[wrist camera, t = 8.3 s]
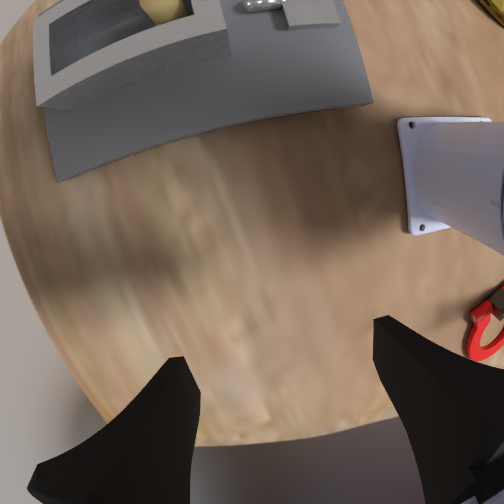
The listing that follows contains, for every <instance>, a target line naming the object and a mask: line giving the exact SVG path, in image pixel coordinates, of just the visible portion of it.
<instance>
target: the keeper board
mask: <svg viewBox="0 0 504 504" xmlns="http://www.w3.org/2000/svg"><path fill="white" fill-rule="evenodd" d="M62 1H64V0H61V1H59V2H58V3H56V4H55V5H53V6H51V7H50V8H48V9H47V10H45V11H44V12H42V13H41V14H40V15H42V14H43V13H45V12H46V11H48V10H49V9H51V8H52V7H54V6H56V5H57V4H59V3H60V2H62ZM219 1H220V5H221V8H222V12H223V16H224V20H225V24H226V28H227V32H228V37H229V42H230V48H231V53H232V56H227V57H223V58H219V59H214V60H210V61H206V62H203V63H199V64H195V65H192V66H188V67H185V68H181V69H178V70H175V71H171V72H168V73H165V74H162V75H159V76H156V77H153V78H151V79H148V80H145V81H142V82H140V83H137V84H134V85H132V86H129V87H127V88H124V89H122V90H119V91H117V92H115V93H112V94H110V95H108V96H106V97H103V98H101V99H99V100H97V101H95V102H92V103H90V104H88V105H86V106H84V107H82V108H80V109H78V110H76V111H72V110H64V109H56V108H47V107H43V111H44V118H45V124H46V130H47V136H48V142H49V147H50V152H51V157H52V162H53V166H54V170H55V175H56V179H57V183H58V182H62V181H66V180H70V179H72V178H74V177H76V176H79V175H81V174H84V173H86V172H88V171H91V170H93V169H96V168H98V167H101V166H103V165H106V164H109V163H111V162H114V161H117V160H119V159H122V158H125V157H128V156H130V155H133V154H136V153H139V152H142V151H145V150H148V149H151V148H154V147H157V146H160V145H164V144H167V143H170V142H173V141H177V140H180V139H184V138H187V137H191V136H194V135H198V134H202V133H206V132H210V131H214V130H218V129H222V128H226V127H230V126H235V125H239V124H244V123H248V122H253V121H258V120H263V119H268V118H274V117H279V116H285V115H291V114H298V113H304V112H311V111H319V110H327V109H335V108H345V107H355V106H365V105H368V104H371V103H373V99H372V94H371V90H370V86H369V82H368V78H367V74H366V70H365V67H364V63H363V60H362V56H361V53H360V49H359V46H358V43H357V40H356V36H355V33H354V30H353V27H352V24H351V22H350V19H349V16H348V13H347V10H346V8H345V5H344V3H343V0H333V2H334V5H335V8H336V10H337V13H338V16H339V19H340V22H341V24H340V25H339V26H338V27H337V28H318V29H304V30H293V31H287V28H286V24H285V21H284V18H283V15H282V12H281V9H271V10H263V11H256V12H249V11H247V10H245V9H244V7H243V2H244V0H219ZM139 3H140V6H141V7H142V8H143V10H144V11H145V12H146V13H144V14H142V15H139V16H137V17H134V18H132V19H129V20H127V21H124V22H122V23H120V24H117V25H115V26H113V27H111V28H108V29H106V30H104V31H102V32H100V33H98V34H96V35H94V36H92V37H90V38H88V39H86V40H84V41H83V50H84V57H86V56H88V55H90V54H92V53H94V52H96V51H98V50H100V49H102V48H104V47H106V46H109V45H111V44H113V43H115V42H118V41H120V40H122V39H125V38H127V37H129V36H132V35H134V34H137V33H139V32H142V31H145V30H147V29H150V28H153V27H156V26H159V25H162V24H165V23H168V22H171V21H174V20H177V19H181V18H184V17H188V16H191V15H194V11H193V7H192V3H191V0H184V1H182V0H139ZM40 15H39V16H40Z"/></svg>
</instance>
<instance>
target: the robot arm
mask: <svg viewBox="0 0 504 504" xmlns="http://www.w3.org/2000/svg"><path fill="white" fill-rule="evenodd" d="M409 122H411V123H412V128H410V127H409ZM397 128H398V134H399V140H400V146H401V153H402V160H403V168H404V177H405V187H406V198H407V211H408V229H409V232H410V233H411V234H412V235H414V236H417V235H421V234H426V233H430V232H434V231H438V230H443V229H447V228H451V227H452V228H454V229H456V230H458V231H460V232H462V233H464V234H466V235H468V236H470V237H471V238H473V239H475V240H477V241H479V242H481V243H483V244H484V245H486V246H488V247H490V248H492V249H493V250H495V251H497V252H499V253H500V254H502V255H504V122H492V121H491V120H490V119H489V118H483V117H412V118H401V119H399V120H398V122H397ZM421 224H422V225H423V226H422V228H421V229H419V228H420V225H421ZM373 361H374V364H375V367H376V370H377V372H378V375H379V378H380V380H381V382H382V384H383V386H384V388H385V390H386V392H387V394H388V396H389V398H390V399H391V401H392V403H393V405H394V407H395V409H396V411H397V413H398V415H399V417H400V419H401V421H402V423H403V425H404V427H405V429H406V432H407V434H408V438H409V441H410V443H411V446H412V449H413V453H414V456H415V460H416V463H417V466H418V470H419V474H420V478H421V482H422V487H423V492H424V497H425V503H426V504H504V369H499V368H495V367H492V366H488V365H485V364H481V363H478V362H475V361H473V360H470V359H468V358H465V357H462V356H460V355H458V354H455V353H453V352H451V351H449V350H447V349H445V348H443V347H441V346H439V345H437V344H435V343H434V342H432V341H430V340H428V339H426V338H425V337H423V336H421V335H420V334H418V333H416V332H415V331H413V330H412V329H410V328H408V327H407V326H405V325H404V324H402V323H400V322H399V321H397V320H396V319H394V318H392V317H391V316H389V315H387V316H383V317H380V318H376V319H374V334H373ZM200 397H201V392H200V390H199V388H198V386H197V384H196V382H195V380H194V377H193V375H192V373H191V371H190V369H189V367H188V365H187V362H186V360H185V358H184V356H182V357H173V358H169V359H168V360H167V361H166V362H165V363H164V364H163V366H162V367H161V368H160V369H159V370H158V372H157V373H156V374H155V375H154V376H153V378H152V379H151V380H150V381H149V382H148V383H147V385H146V386H145V387H144V388H143V389H142V390H141V392H140V393H139V394H138V395H137V396H136V397H135V398H134V399H133V400H132V401H131V402H130V403H129V404H128V405H127V407H126V408H125V409H124V410H123V411H122V412H121V413H120V414H119V415H117V416H116V417H115V418H114V419H113V420H112V421H111V422H109V423H108V424H107V425H106V426H105V427H104V428H102V429H101V430H100V431H98V432H97V433H96V434H94V435H93V436H91V437H90V438H88V439H87V440H86V441H84V442H82V443H81V444H80V445H78V446H76V447H74V448H72V449H71V450H69V451H67V452H65V453H63V454H61V455H59V456H57V457H54V458H52V459H49V460H47V461H45V462H42V463H40V464H38V465H37V466H36V469H35V471H34V473H33V475H32V478H31V480H30V482H29V484H28V487H27V489H28V491H29V493H30V494H31V495H32V496H33V497H35V498H36V499H37V500H39V501H40V502H41V503H43V504H190V473H191V462H192V456H193V450H194V445H195V439H196V434H197V428H198V422H199V416H200Z"/></svg>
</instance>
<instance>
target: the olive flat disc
mask: <svg viewBox="0 0 504 504" xmlns="http://www.w3.org/2000/svg"><path fill="white" fill-rule="evenodd" d="M479 1H480V2H481V3H482V4H483V6H484V7H485V8H486V9H487V10H488V11H489V12H490V13H491V14H492V15H493V16H494V17H495V18H496V19H497V20H498V21H499V22H500V23H501V24H502V25H503V27H504V0H479Z"/></svg>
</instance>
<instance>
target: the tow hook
mask: <svg viewBox="0 0 504 504" xmlns="http://www.w3.org/2000/svg"><path fill="white" fill-rule="evenodd" d="M491 313H492V314H493V315H494V316H495V317H496V318H497V319H498V320H499V321H501V320H502V319H503V318H504V285H503V286H502V287H501V288H498V289H497V290H496V291H495V292H494V293H493V294H491V295H490V296H489V297H488V298H487V299H486V300H485V301H484V302H483V303H482V304H481V305H480V306H478V307H477V308H476V309H475V310H473V311H472V312H471V313H470V318H471V320H472V322H473V323H474V326H473V328H472V329H471V332H470V334H469V337H468V340H467V345H466V350H467V354H468V355H469V357H470V358H471V359H472V360H474V361H481V360H484V359H486V358H488V357H490V356H491V355H493V354H494V353H495V352H496V351H497V350H499V349H500V348H501V347H502V346H503V344H504V330H503V331H502V333H501V334H500V335H499V336H498V337H497V339H495V340H494V341H493V342H492V343H491V344H489V345H487V346H485V347H480V339H481V336H482V334H483V332H484V330H485V328H486V326H487V325H488V323H489V322H490V314H491Z"/></svg>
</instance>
